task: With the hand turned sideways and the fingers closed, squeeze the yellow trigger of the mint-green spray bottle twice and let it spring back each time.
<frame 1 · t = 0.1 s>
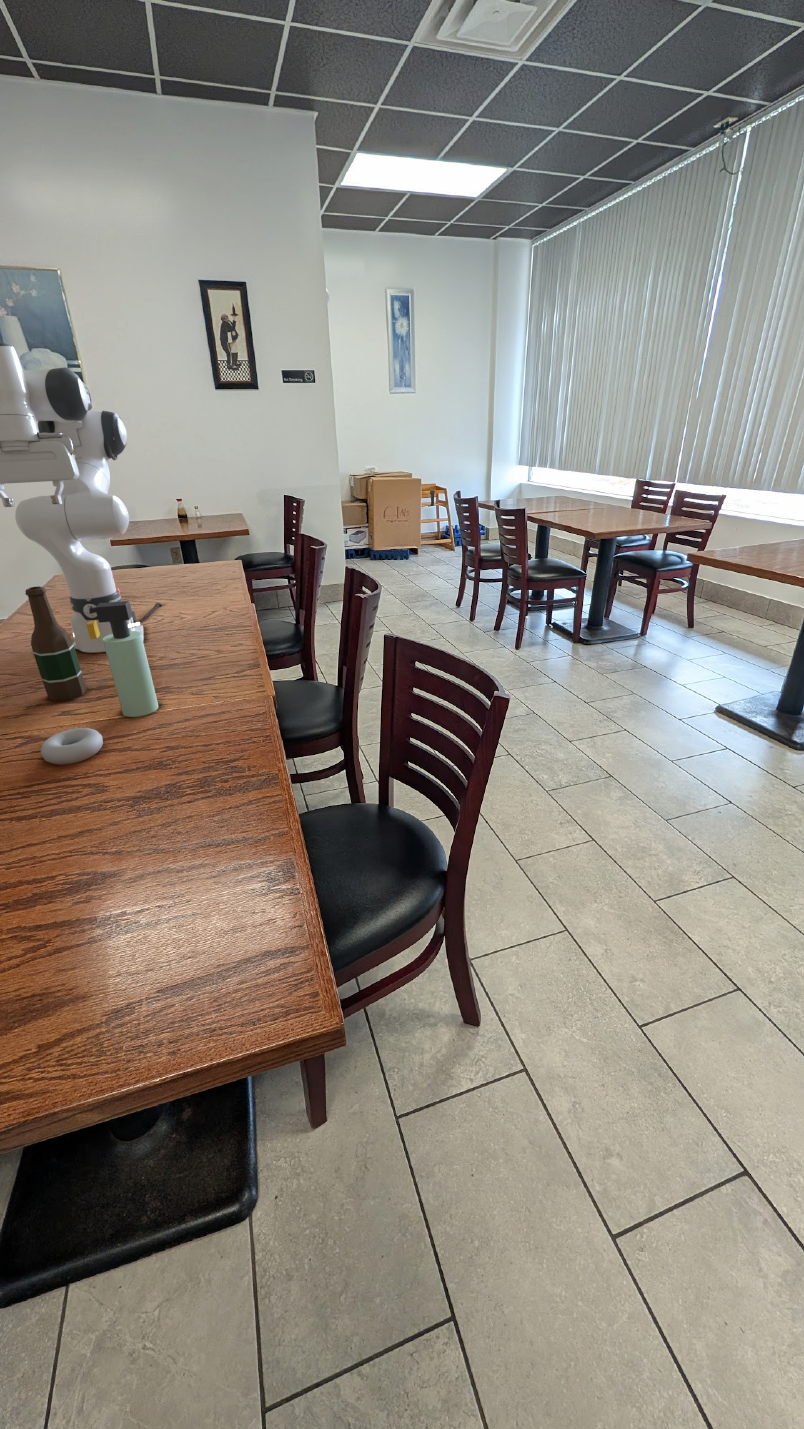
hand: (33, 505, 124), 39 cm above the table, tool pointing down, fingers open, 8 cm apart
donut: (75, 754, 106), on the table
spray bottle: (140, 709, 122), on the table
beer bottle: (68, 695, 131), on the table
trigger: (93, 629, 113), point 18 cm above the table, slide at -0.1 cm
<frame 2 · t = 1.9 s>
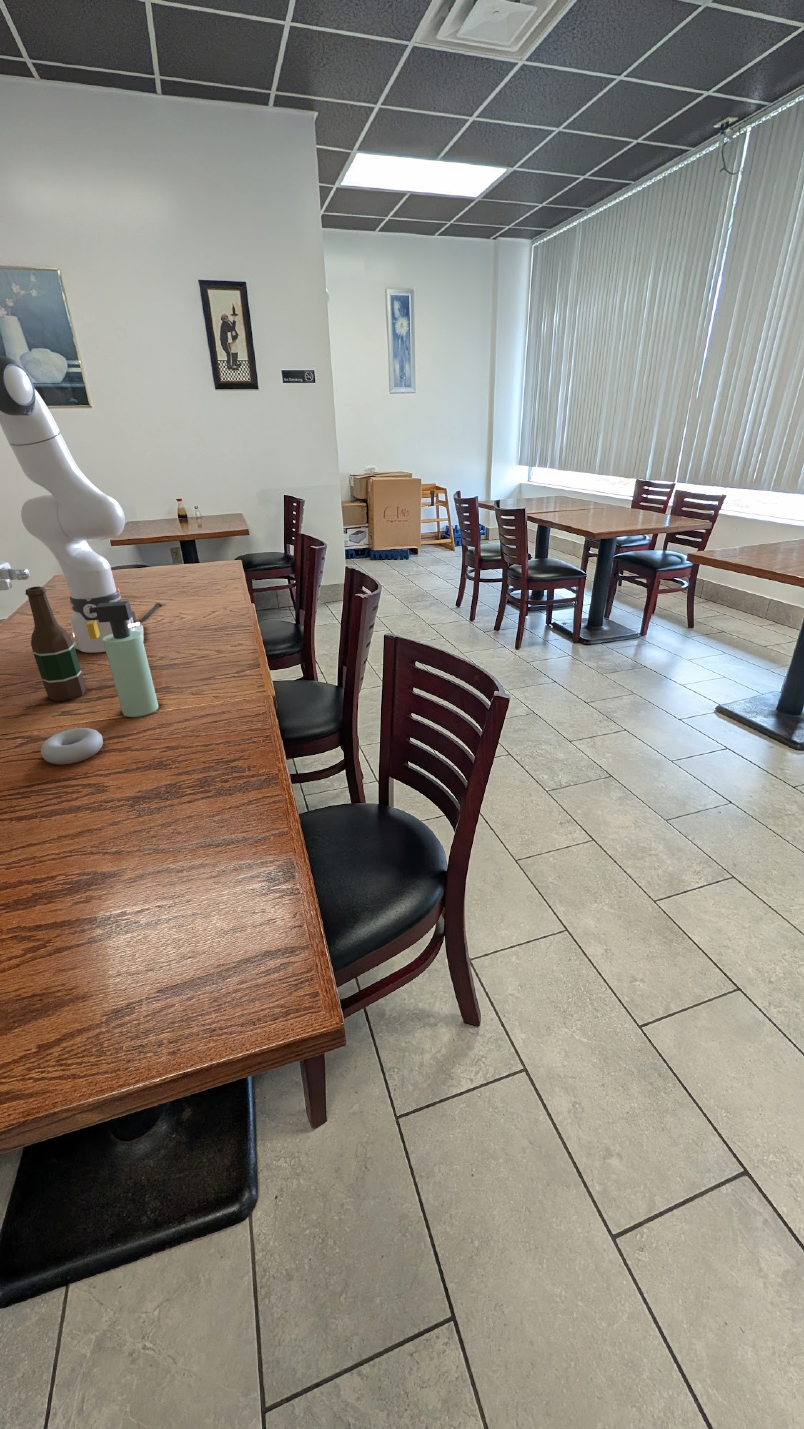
hand: (19, 578, 107), 28 cm above the table, tool horizontal, fingers open, 7 cm apart
nothing on the table moved.
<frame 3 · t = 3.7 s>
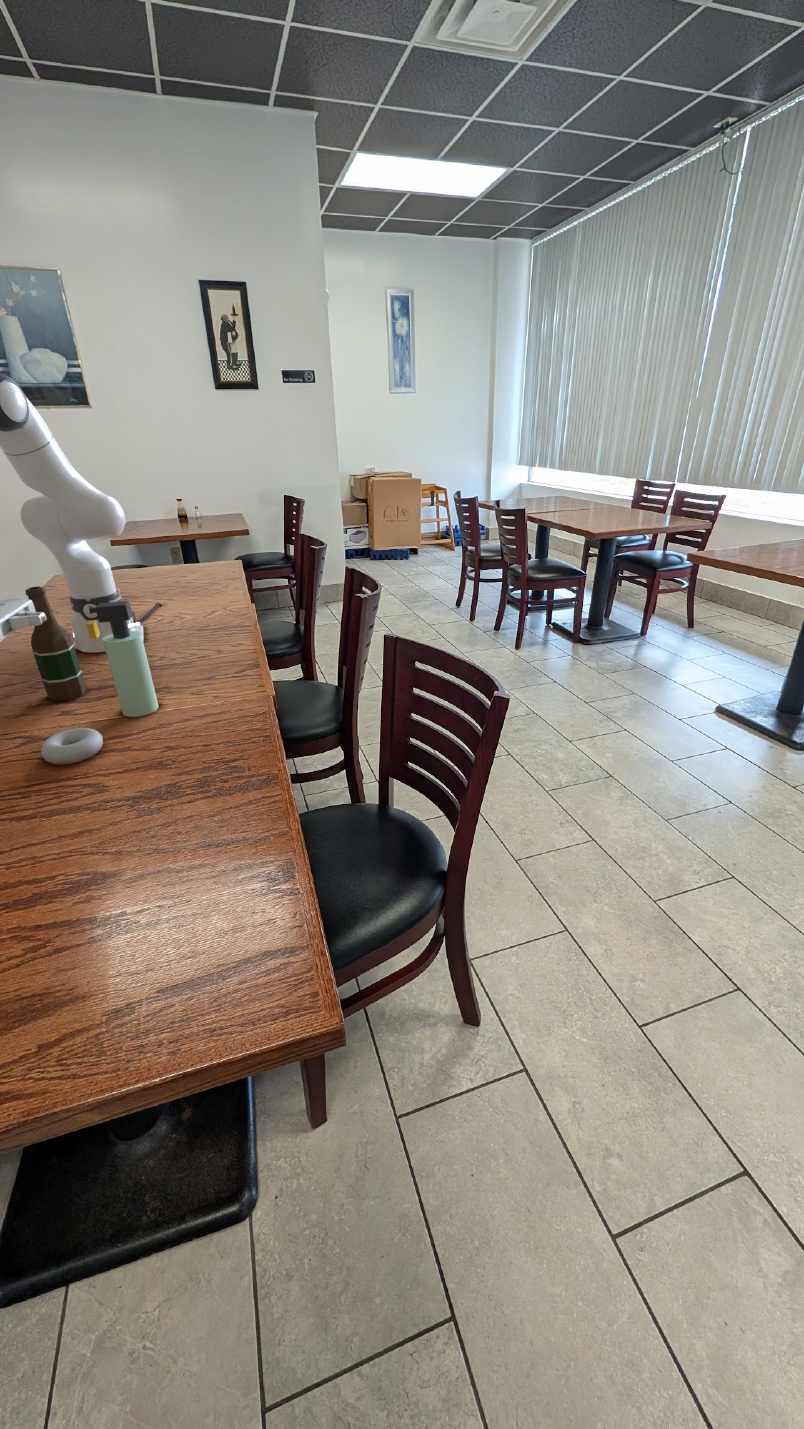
hand: (43, 618, 111), 21 cm above the table, tool horizontal, fingers closed
nothing on the table moved.
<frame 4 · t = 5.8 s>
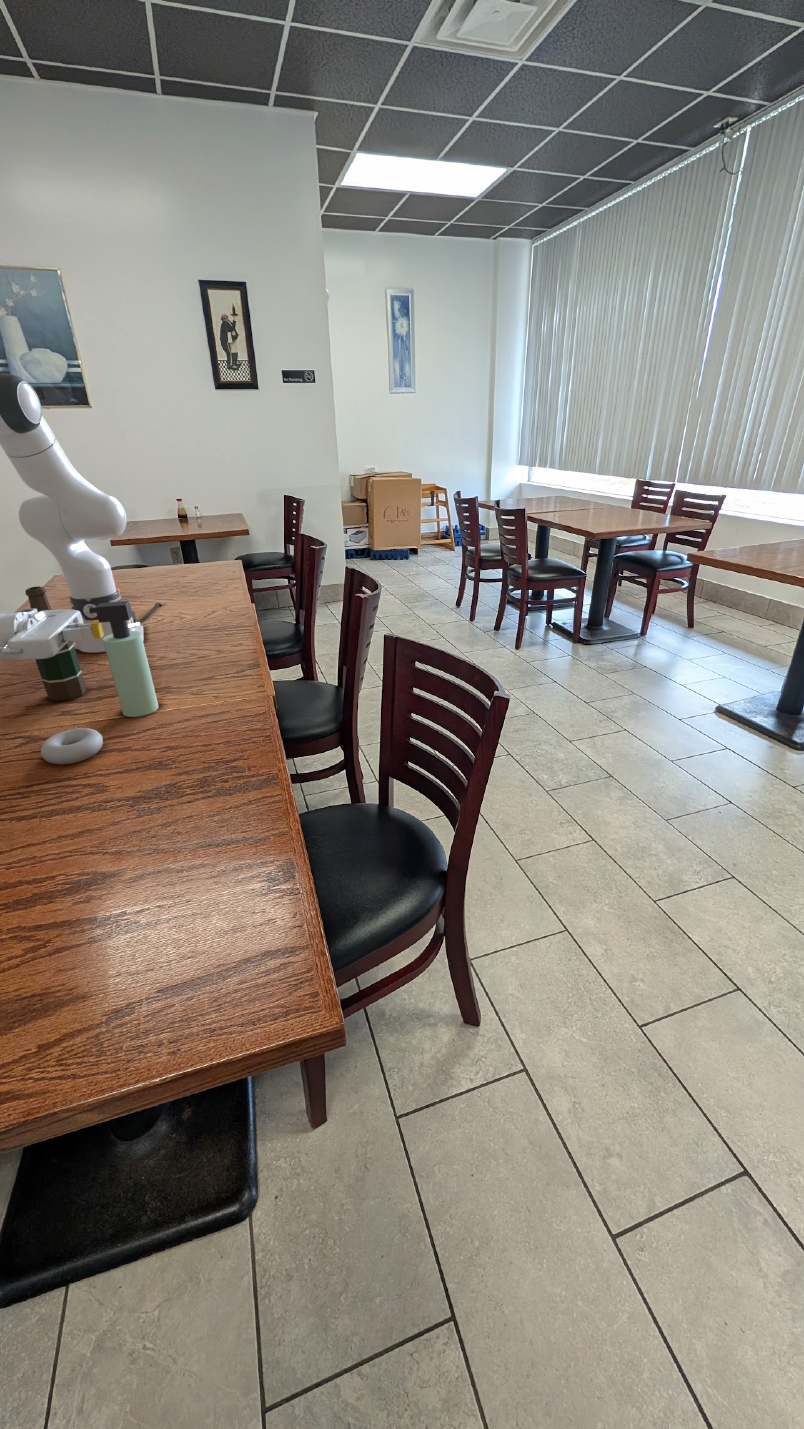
hand: (93, 629, 114), 18 cm above the table, tool horizontal, fingers closed, pressing on trigger
trigger: (97, 629, 114), point 18 cm above the table, slide at 0.7 cm, touching gripper
everything else where it was.
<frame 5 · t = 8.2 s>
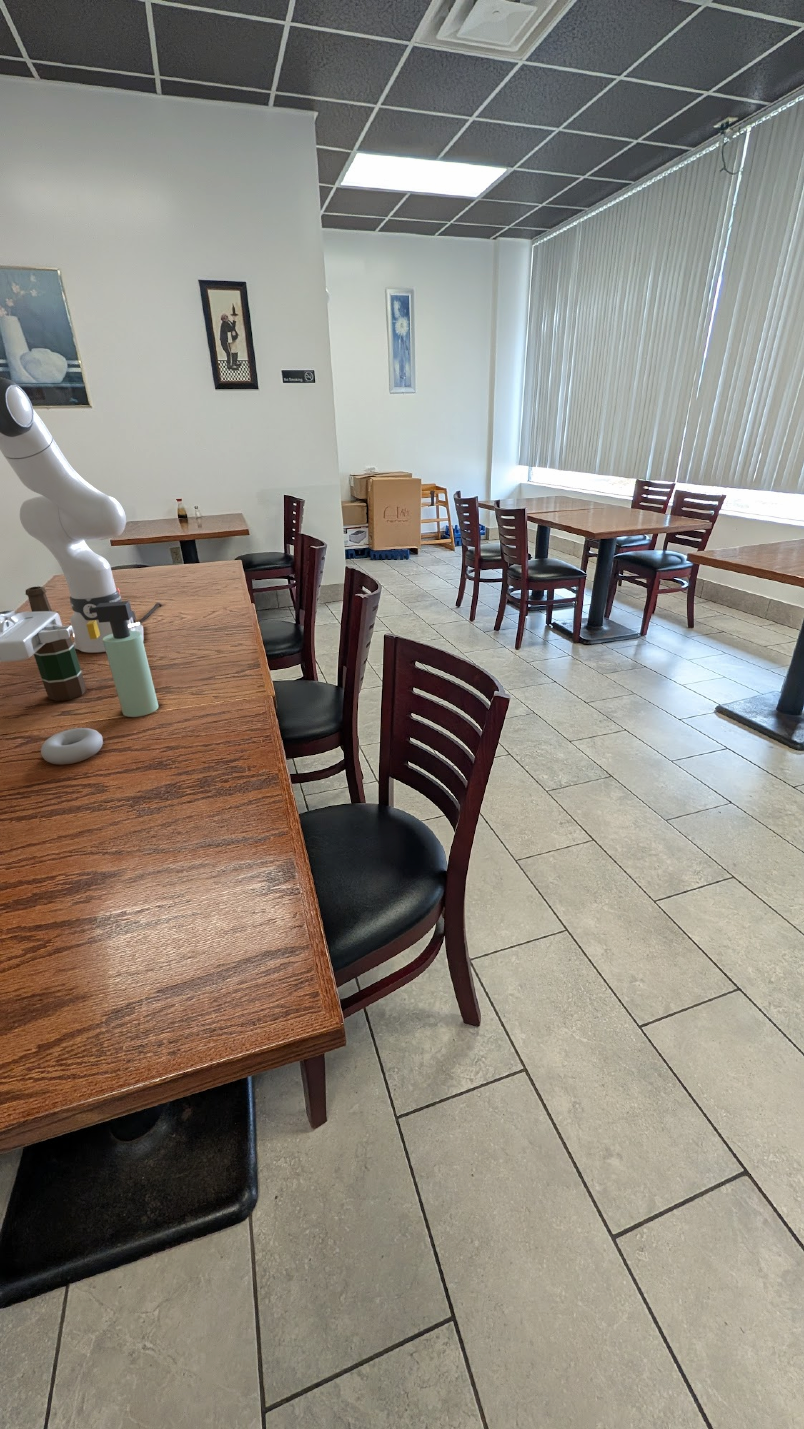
hand: (70, 631, 113), 18 cm above the table, tool horizontal, fingers closed
trigger: (93, 629, 113), point 18 cm above the table, slide at -0.1 cm
everything else where it was.
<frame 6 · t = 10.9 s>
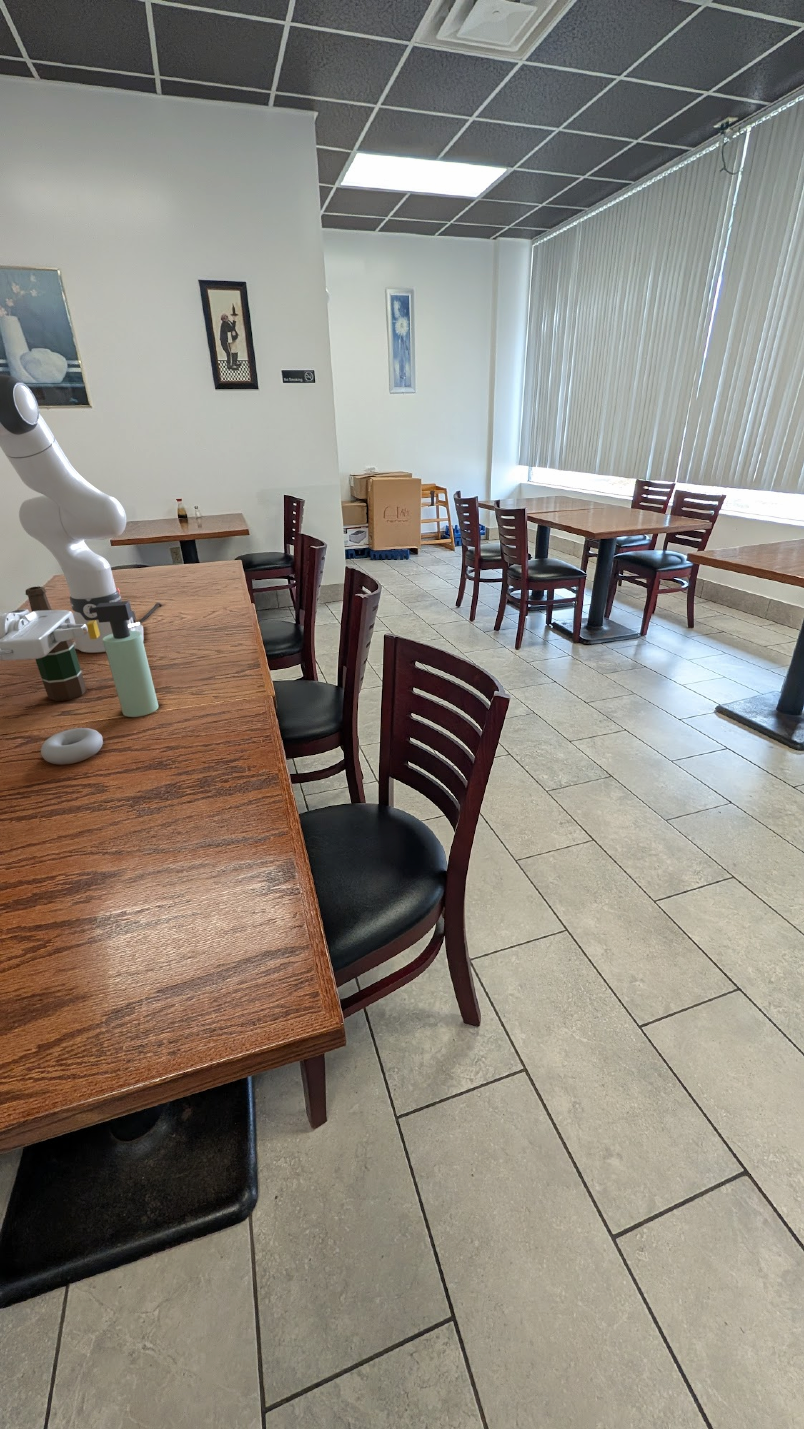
hand: (85, 630, 113), 18 cm above the table, tool horizontal, fingers closed
nothing on the table moved.
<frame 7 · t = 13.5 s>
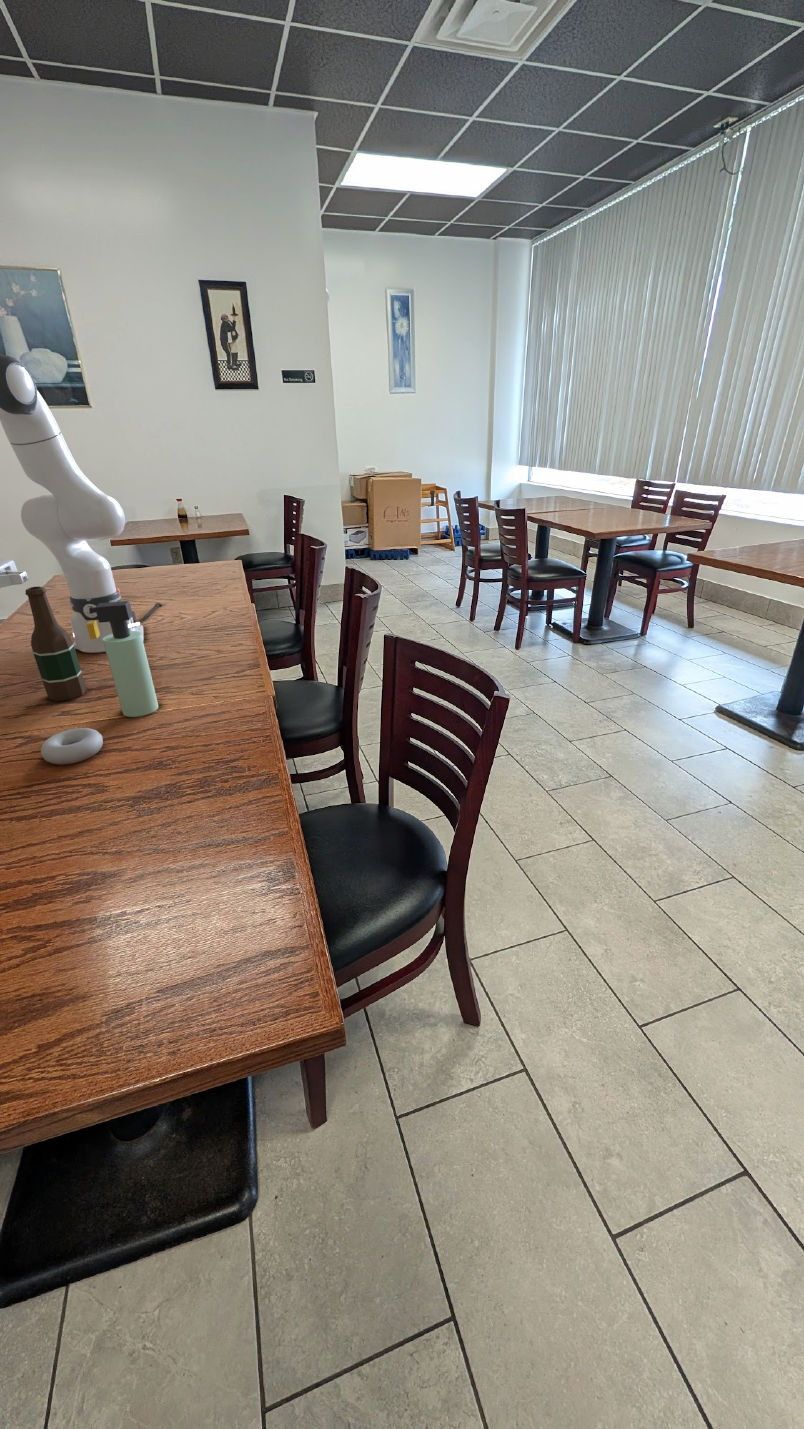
hand: (24, 577, 108), 29 cm above the table, tool horizontal, fingers closed
nothing on the table moved.
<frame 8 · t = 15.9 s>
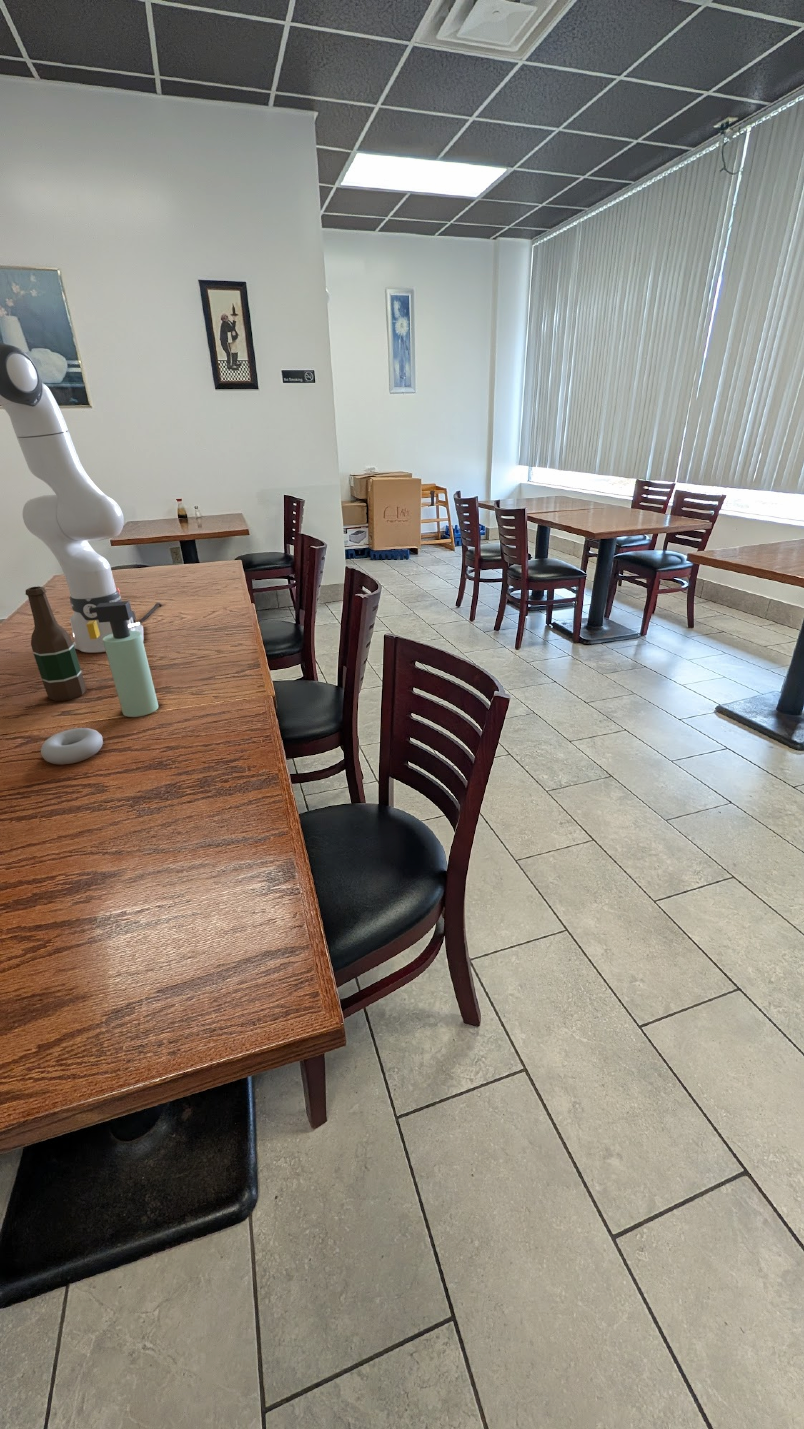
nothing on the table moved.
at the end: trigger pulled out 1.1 cm at the most during the clip, back to where it started at the end; trigger slide at -0.1 cm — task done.
